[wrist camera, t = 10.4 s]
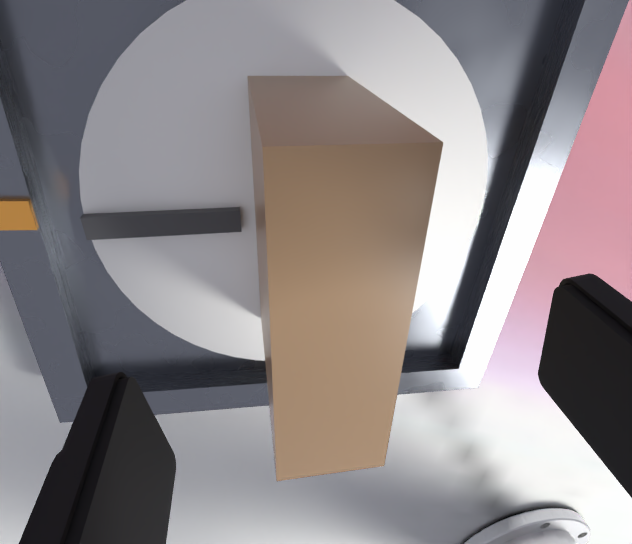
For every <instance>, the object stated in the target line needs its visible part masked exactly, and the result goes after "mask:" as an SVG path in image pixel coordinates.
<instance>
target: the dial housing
mask: <svg viewBox="0 0 632 544" xmlns="http://www.w3.org/2000/svg"><path fill="white" fill-rule="evenodd" d="M184 1H186V0H0V262H1V265H2V267H3V270H4V273H5V276H6V278H7V281H8V284H9V286H10V289H11V292H12V294H13V297H14V300H15V303H16V305H17V308H18V311H19V313H20V316H21V319H22V321H23V324H24V327H25V329H26V332H27V335H28V338H29V340H30V343H31V346H32V348H33V351H34V354H35V356H36V359H37V362H38V365H39V367H40V370H41V373H42V375H43V378H44V381H45V383H46V386H47V389H48V392H49V394H50V397H51V400H52V402H53V405H54V408H55V410H56V413H57V416H58V419H59V421H60V423H61V422H73V421H74V419H75V417H76V414H77V412H78V409H79V407H80V404H81V402H82V399H83V397H84V394H85V392H86V389H87V387H88V384H89V382H90V381H91V379H92V378H94V377H98V376H103V375H108V374H113V373H117V372H123V373H124V374H125V375H126V376H127V377H134V378H135V379H136V381H137V383H138V385H139V387H140V388H141V390H142V392H143V394H144V396H145V398H146V400H147V402H148V404H149V406H150V408H151V410H152V412H153V414H154V415H157V414H169V413H181V412H193V411H205V410H217V409H229V408H241V407H253V406H265V405H269V396H268V386H267V376H266V365H265V361H262V360H251V359H244V358H237V357H232V356H228V355H224V354H220V353H216V352H213V351H210V350H208V349H205V348H202V347H199V346H197V345H194V344H192V343H190V342H188V341H186V340H184V339H182V338H180V337H178V336H176V335H174V334H172V333H171V332H169V331H168V330H166V329H164V328H163V327H161V326H160V325H158V324H157V323H155V322H154V321H153V320H151V319H150V318H149V317H148V316H147V315H145V314H144V313H143V312H142V311H141V310H139V309H138V308H137V307H136V306H135V305H134V304H133V303H132V302H131V301H130V300H129V298H128V297H127V296H126V295H125V294H124V293H123V292H122V291H121V290H120V288H119V287H118V286H117V284H116V283H115V282H114V280H113V279H112V277H111V276H110V275H109V273H108V272H107V270H106V269H105V267H104V265H103V263H102V261H101V259H100V257H99V256H98V254H97V252H96V250H95V248H94V245H93V242H92V240H87V239H86V236H85V232H84V229H83V226H82V222H81V219H80V217H81V216H82V214H84V213H83V208H82V203H81V198H80V182H79V164H80V153H81V143H82V139H83V135H84V131H85V127H86V123H87V119H88V115H89V112H90V110H91V108H92V105H93V103H94V101H95V98H96V96H97V94H98V91H99V89H100V87H101V85H102V83H103V81H104V80H105V78H106V77H107V75H108V74H109V72H110V70H111V69H112V67H113V66H114V64H115V63H116V61H117V59H118V58H119V57H120V56H121V54H122V53H123V52H124V51H125V50H126V49H127V48H128V47H129V46H130V44H131V43H132V42H133V41H134V40H135V39H136V38H137V37H138V35H139V34H140V33H141V32H142V31H144V30H145V29H146V28H147V27H149V26H150V25H151V24H152V23H154V22H155V21H156V20H157V19H158V18H160V17H161V16H162V15H163V14H165V13H166V12H167V11H169V10H170V9H172V8H174V7H176V6H177V5H179V4H181V3H183V2H184ZM395 1H396V2H398V3H399V4H400V5H402V6H403V7H405V8H406V9H408V10H409V11H411V12H412V13H414V14H415V15H417V16H418V17H419V18H420V19H422V20H423V21H424V22H425V23H426V24H427V25H428V26H429V27H430V28H431V29H432V30H433V31H434V32H435V33H436V34H437V35H438V36H440V37H441V39H442V40H443V41H444V43H445V44H446V45H447V46H448V48H449V49H450V50H451V52H452V53H453V54H454V55H455V57H456V58H457V59H458V61H459V63H460V64H461V66H462V68H463V70H464V72H465V73H466V75H467V77H468V79H469V81H470V82H471V84H472V87H473V90H474V92H475V95H476V98H477V100H478V103H479V106H480V108H481V112H482V117H483V122H484V126H485V131H486V138H487V152H488V168H487V184H486V189H485V194H484V200H483V205H482V208H481V212H480V215H479V218H478V221H477V224H476V227H475V230H474V232H473V234H472V236H471V239H470V241H469V243H468V245H467V247H466V249H465V251H464V253H463V254H462V256H461V258H460V259H459V261H458V263H457V264H456V266H455V268H454V269H453V270H452V272H451V273H450V274H449V276H448V277H447V278H446V280H445V281H444V282H443V284H442V285H441V286H440V287H439V288H438V289H437V290H436V291H435V292H434V293H433V294H432V296H431V297H430V298H429V299H428V300H427V301H426V302H425V303H423V304H422V305H421V306H420V307H419V308H418V309H417V310H415V311H414V312H413V313H412V316H411V322H410V327H409V333H408V338H407V344H406V349H405V355H404V360H403V365H402V371H401V376H400V382H399V387H398V393H397V395H398V394H410V393H422V392H434V391H446V390H458V389H470V388H478V387H479V384H480V382H481V379H482V377H483V374H484V372H485V369H486V366H487V364H488V361H489V359H490V356H491V354H492V351H493V348H494V346H495V343H496V341H497V338H498V336H499V333H500V330H501V328H502V325H503V323H504V320H505V318H506V315H507V312H508V310H509V307H510V305H511V302H512V300H513V297H514V294H515V292H516V289H517V287H518V284H519V282H520V279H521V276H522V274H523V271H524V269H525V266H526V264H527V261H528V258H529V256H530V253H531V251H532V248H533V246H534V243H535V240H536V238H537V235H538V233H539V230H540V227H541V225H542V222H543V220H544V217H545V215H546V212H547V209H548V207H549V204H550V202H551V199H552V197H553V194H554V191H555V189H556V186H557V184H558V181H559V179H560V176H561V173H562V171H563V168H564V166H565V163H566V161H567V158H568V155H569V153H570V150H571V148H572V145H573V143H574V140H575V137H576V135H577V132H578V130H579V127H580V125H581V122H582V119H583V117H584V114H585V112H586V109H587V107H588V104H589V101H590V99H591V96H592V94H593V91H594V89H595V86H596V83H597V81H598V78H599V76H600V73H601V71H602V68H603V65H604V63H605V60H606V58H607V55H608V53H609V50H610V47H611V45H612V42H613V40H614V37H615V35H616V32H617V29H618V27H619V24H620V22H621V19H622V17H623V14H624V11H625V9H626V6H627V4H628V1H629V0H395Z"/></svg>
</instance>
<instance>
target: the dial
mask: <svg viewBox="0 0 632 544" xmlns="http://www.w3.org/2000/svg"><path fill="white" fill-rule="evenodd" d="M487 168H488V152H487V138H486V131H485V126H484V122H483V117H482V112H481V108H480V106H479V103H478V100H477V98H476V95H475V92H474V90H473V87H472V84H471V82H470V81H469V79H468V77H467V75H466V73H465V72H464V70H463V68H462V66H461V64H460V63H459V61H458V59H457V58H456V57H455V55H454V54H453V53H452V52H451V50H450V49H449V48H448V46H447V45H446V44H445V43H444V41H443V40H442V39H441V37H440V36H438V35H437V34H436V33H435V32H434V31H433V30H432V29H431V28H430V27H429V26H428V25H427V24H426V23H425V22H424V21H423V20H422V19H420V18H419V17H418V16H417V15H415V14H414V13H412V12H411V11H409V10H408V9H406V8H405V7H403V6H402V5H400V4H399V3H398V2H396V1H395V0H186V1H184V2H183V3H181V4H179V5H177V6H176V7H174V8H172V9H170V10H169V11H167V12H166V13H165V14H163V15H162V16H161V17H160V18H158V19H157V20H156V21H155V22H154V23H152V24H151V25H150V26H149V27H147V28H146V29H145V30H144V31H142V32H141V33H140V34H139V35H138V37H137V38H136V39H135V40H134V41H133V42H132V43H131V44H130V46H129V47H128V48H127V49H126V50H125V51H124V52H123V53H122V54H121V56H120V57H119V58H118V59H117V61H116V63H115V64H114V66H113V67H112V69H111V70H110V72H109V74H108V75H107V77H106V78H105V80H104V81H103V83H102V85H101V87H100V89H99V91H98V94H97V96H96V98H95V101H94V103H93V105H92V108H91V110H90V112H89V115H88V119H87V123H86V127H85V131H84V135H83V139H82V143H81V153H80V164H79V182H80V198H81V203H82V208H83V213H84V214H82V216H81V217H80V219H81V222H82V226H83V229H84V232H85V236H86V239H87V240H92V242H93V245H94V248H95V250H96V252H97V254H98V256H99V257H100V259H101V261H102V263H103V265H104V267H105V269H106V270H107V272H108V273H109V275H110V276H111V277H112V279H113V280H114V282H115V283H116V284H117V286H118V287H119V288H120V290H121V291H122V292H123V293H124V294H125V295H126V296H127V297H128V298H129V300H130V301H131V302H132V303H133V304H134V305H135V306H136V307H137V308H138V309H139V310H141V311H142V312H143V313H144V314H145V315H147V316H148V317H149V318H150V319H151V320H153V321H154V322H155V323H157V324H158V325H160V326H161V327H163V328H164V329H166V330H168V331H169V332H171V333H172V334H174V335H176V336H178V337H180V338H182V339H184V340H186V341H188V342H190V343H192V344H194V345H197V346H199V347H202V348H205V349H208V350H210V351H213V352H216V353H220V354H224V355H228V356H232V357H237V358H244V359H251V360H262V361H265V365H266V376H267V386H268V396H269V407H270V417H271V428H272V438H273V449H274V459H275V469H276V480H277V481H282V480H289V479H296V478H303V477H310V476H317V475H324V474H331V473H338V472H345V471H352V470H359V469H366V468H373V467H380V466H384V463H385V458H386V452H387V447H388V442H389V436H390V431H391V425H392V420H393V414H394V409H395V403H396V398H397V393H398V387H399V382H400V376H401V371H402V365H403V360H404V355H405V349H406V344H407V338H408V333H409V327H410V322H411V316H412V313H413V312H414V311H415V310H417V309H418V308H419V307H420V306H421V305H422V304H423V303H425V302H426V301H427V300H428V299H429V298H430V297H431V296H432V294H433V293H434V292H435V291H436V290H437V289H438V288H439V287H440V286H441V285H442V284H443V282H444V281H445V280H446V278H447V277H448V276H449V274H450V273H451V272H452V270H453V269H454V268H455V266H456V264H457V263H458V261H459V259H460V258H461V256H462V254H463V253H464V251H465V249H466V247H467V245H468V243H469V241H470V239H471V236H472V234H473V232H474V230H475V227H476V224H477V221H478V218H479V215H480V212H481V208H482V205H483V200H484V194H485V189H486V184H487Z"/></svg>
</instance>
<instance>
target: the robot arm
mask: <svg viewBox="0 0 632 544" xmlns="http://www.w3.org/2000/svg"><path fill="white" fill-rule="evenodd" d="M538 376H539V380H540V383H541V385H542V387H543V388H544V389H545V391H546V392H547V393H548V394H549V396H550V397H551V398H552V399H553V401H554V402H555V403H556V404H557V406H558V407H559V408H560V409H561V410H562V412H563V413H564V414H565V415H566V417H567V418H568V419H569V420H570V422H571V423H572V424H573V425H574V427H575V428H576V429H577V430H578V432H579V433H580V434H581V435H582V437H583V438H584V439H585V440H586V442H587V443H588V444H589V445H590V446H591V448H592V449H593V450H594V451H595V453H596V454H597V455H598V456H599V458H600V459H601V460H602V461H603V463H604V464H605V465H606V466H607V468H608V469H609V470H610V471H611V473H612V474H613V475H614V476H615V478H616V479H617V480H618V481H619V483H620V484H621V485H622V486H623V487H624V489H625V490H626V491H627V492H628V494H629V495H630V496H631V497H632V302H631V301H630V300H629V299H627V298H626V297H625V296H623V295H622V294H620V293H619V292H618V291H616V290H615V289H614V288H612V287H611V286H610V285H608V284H607V283H606V282H604V281H603V280H602V279H600V278H599V277H598V276H596V275H594V274H585V275H580V276H576V277H571V278H566V279H563V280H562V281H561V282H560V285H559V287H557V288H556V289H555V290H554V293H553V298H552V303H551V308H550V314H549V319H548V324H547V329H546V334H545V339H544V345H543V350H542V355H541V360H540V365H539V370H538ZM175 472H176V460H175V455H174V453H173V451H172V449H171V447H170V445H169V443H168V441H167V439H166V437H165V435H164V433H163V431H162V429H161V427H160V425H159V423H158V421H157V419H156V418H155V416H154V414H153V412H152V410H151V408H150V406H149V404H148V402H147V400H146V398H145V396H144V394H143V392H142V390H141V388H140V387H139V385H138V383H137V381H136V379H135V378H134V377H127V376H126V375H125V374H124V373H123V372H117V373H113V374H108V375H103V376H98V377H94V378H92V379H91V381H90V382H89V384H88V387H87V389H86V392H85V394H84V397H83V399H82V402H81V404H80V407H79V409H78V412H77V414H76V417H75V419H74V422H73V424H72V427H71V429H70V432H69V434H68V437H67V439H66V442H65V444H64V447H63V449H62V450H61V451H60V452H59V453H58V454H57V455H56V457H55V459H54V461H53V462H52V464H51V467H50V469H49V472H48V474H47V477H46V479H45V481H44V484H43V486H42V489H41V491H40V494H39V496H38V498H37V501H36V503H35V506H34V508H33V511H32V513H31V515H30V518H29V520H28V523H27V525H26V528H25V530H24V532H23V535H22V537H21V540H20V542H19V544H166V538H167V531H168V523H169V516H170V509H171V501H172V494H173V487H174V479H175ZM589 538H590V528H589V527H588V525H587V524H586V522H585V521H584V519H583V517H582V516H581V515H580V514H578V513H577V512H574V511H572V510H569V509H563V508H546V509H537V510H533V511H528V512H524V513H521V514H517V515H514V516H511V517H508V518H506V519H504V520H501V521H499V522H496V523H494V524H493V525H491V526H489V527H487V528H485V529H483V530H482V531H480V532H478V533H477V534H475V535H474V536H472V537H471V538H470V539H469V540H467V541H466V542H465V543H464V544H587V543H588V541H589Z"/></svg>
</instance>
